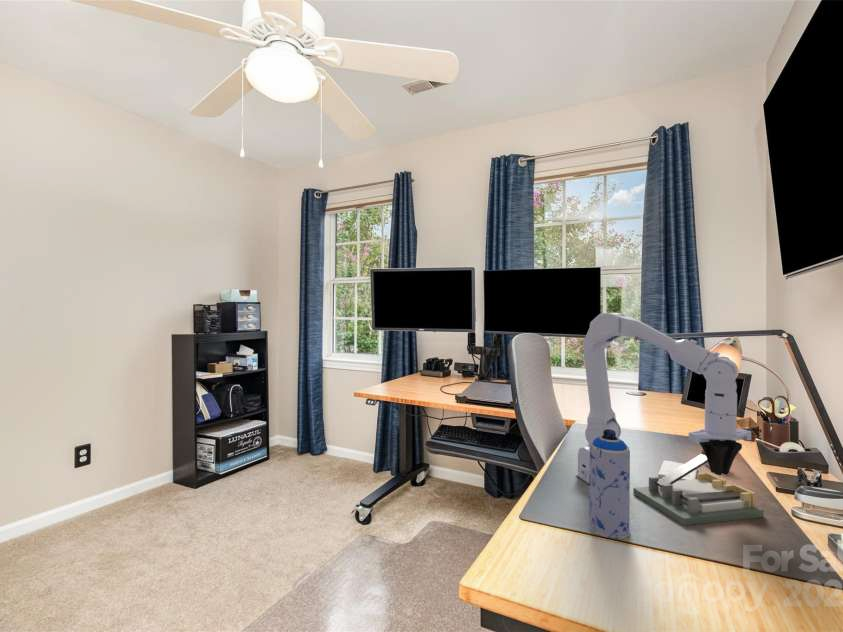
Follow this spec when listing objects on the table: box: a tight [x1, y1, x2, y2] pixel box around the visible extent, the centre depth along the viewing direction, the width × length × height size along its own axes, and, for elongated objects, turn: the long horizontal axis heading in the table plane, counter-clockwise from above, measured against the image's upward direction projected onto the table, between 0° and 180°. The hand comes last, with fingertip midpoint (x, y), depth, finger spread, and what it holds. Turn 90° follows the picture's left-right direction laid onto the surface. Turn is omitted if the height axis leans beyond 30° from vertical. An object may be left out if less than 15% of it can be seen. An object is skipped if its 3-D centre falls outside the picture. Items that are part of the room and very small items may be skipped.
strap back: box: [656, 453, 708, 487], centre depth 97 cm, size 14×3×1 cm, turn 100°
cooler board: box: [632, 471, 765, 527], centre depth 94 cm, size 20×15×4 cm
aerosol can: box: [587, 429, 631, 540], centre depth 83 cm, size 8×8×20 cm
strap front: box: [680, 491, 740, 502], centre depth 91 cm, size 14×3×1 cm, turn 101°
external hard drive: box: [657, 460, 698, 481], centre depth 112 cm, size 2×8×12 cm
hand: (719, 473), depth 91 cm, fingers closed
